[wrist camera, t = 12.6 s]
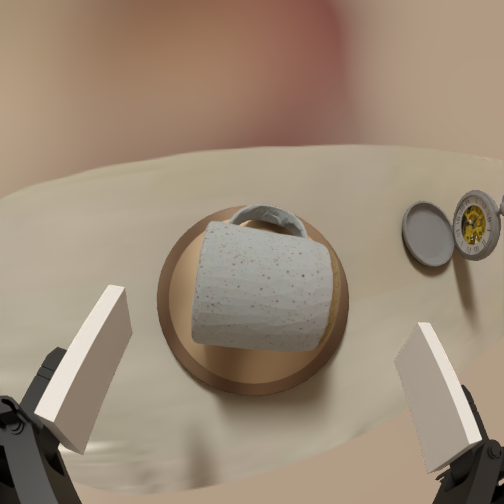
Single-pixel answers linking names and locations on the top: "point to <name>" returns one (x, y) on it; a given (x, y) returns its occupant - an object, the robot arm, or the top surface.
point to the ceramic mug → (264, 285)
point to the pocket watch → (453, 229)
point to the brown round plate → (228, 358)
